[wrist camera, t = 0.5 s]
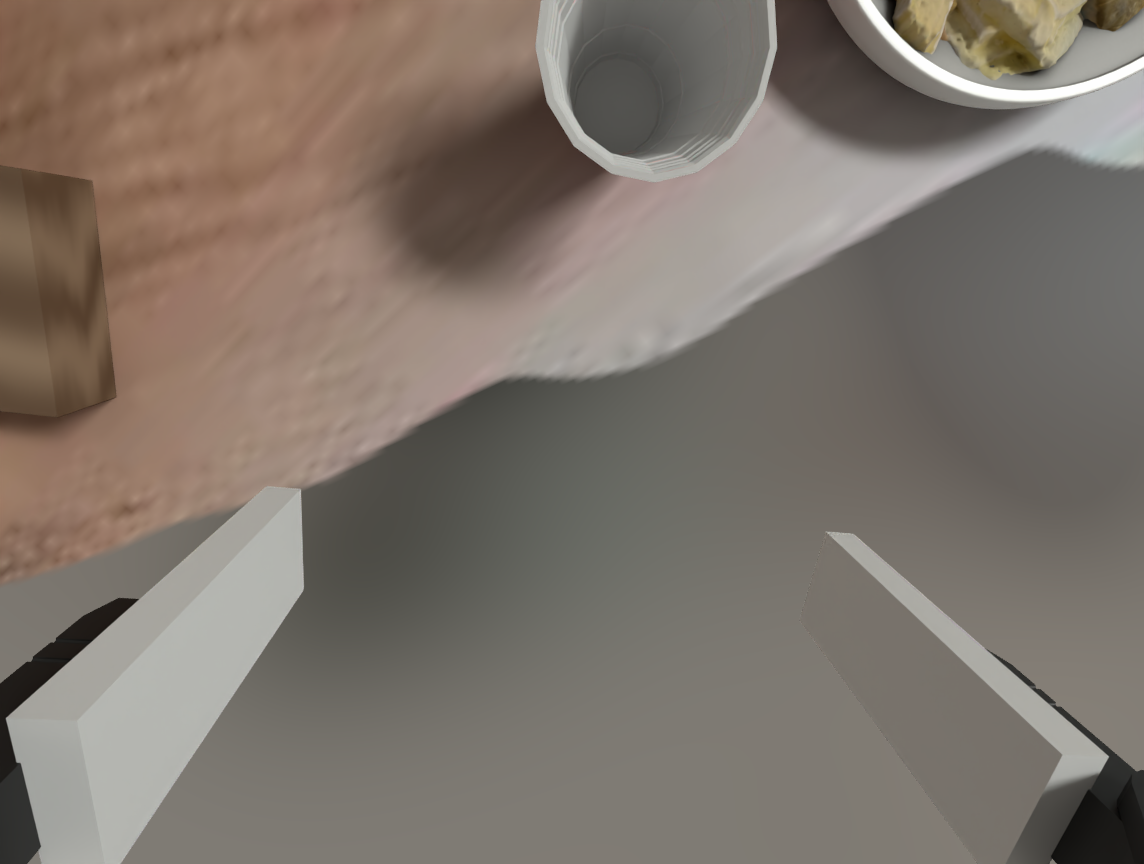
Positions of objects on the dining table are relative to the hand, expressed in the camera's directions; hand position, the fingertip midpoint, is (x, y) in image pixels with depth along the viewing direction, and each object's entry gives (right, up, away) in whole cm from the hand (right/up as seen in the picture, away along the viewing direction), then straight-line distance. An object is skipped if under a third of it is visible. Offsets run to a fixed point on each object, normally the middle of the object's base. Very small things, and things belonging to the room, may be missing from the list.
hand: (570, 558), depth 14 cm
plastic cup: (+3, +24, +21) cm, 32 cm away
